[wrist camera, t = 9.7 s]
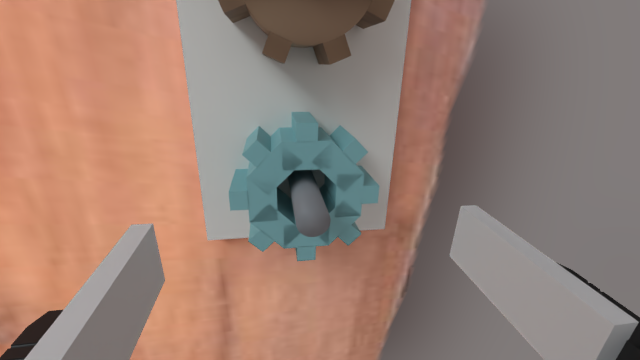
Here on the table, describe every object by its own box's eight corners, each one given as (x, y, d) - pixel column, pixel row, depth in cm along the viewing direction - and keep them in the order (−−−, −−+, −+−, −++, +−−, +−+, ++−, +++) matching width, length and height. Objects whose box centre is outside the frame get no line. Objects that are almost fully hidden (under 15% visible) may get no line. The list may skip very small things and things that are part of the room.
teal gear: (240, 233, 23) (235, 265, 19) (230, 111, 19) (221, 123, 16) (356, 225, 24) (372, 255, 20) (365, 111, 21) (386, 122, 17)
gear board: (166, -130, 16) (67, -315, 8) (412, -100, 18) (521, -224, 10) (211, 229, 24) (183, 311, 16) (378, 220, 26) (425, 287, 18)
